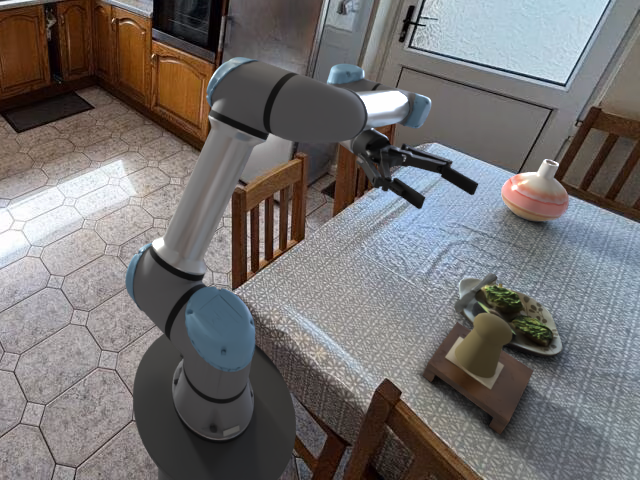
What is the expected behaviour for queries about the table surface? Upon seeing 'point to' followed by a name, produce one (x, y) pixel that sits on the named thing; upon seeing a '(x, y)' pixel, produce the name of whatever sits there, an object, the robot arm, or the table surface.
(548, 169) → the vase
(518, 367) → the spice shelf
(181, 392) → the robot arm
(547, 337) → the salad plate
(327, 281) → the table surface
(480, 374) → the cork
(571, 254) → the table surface
